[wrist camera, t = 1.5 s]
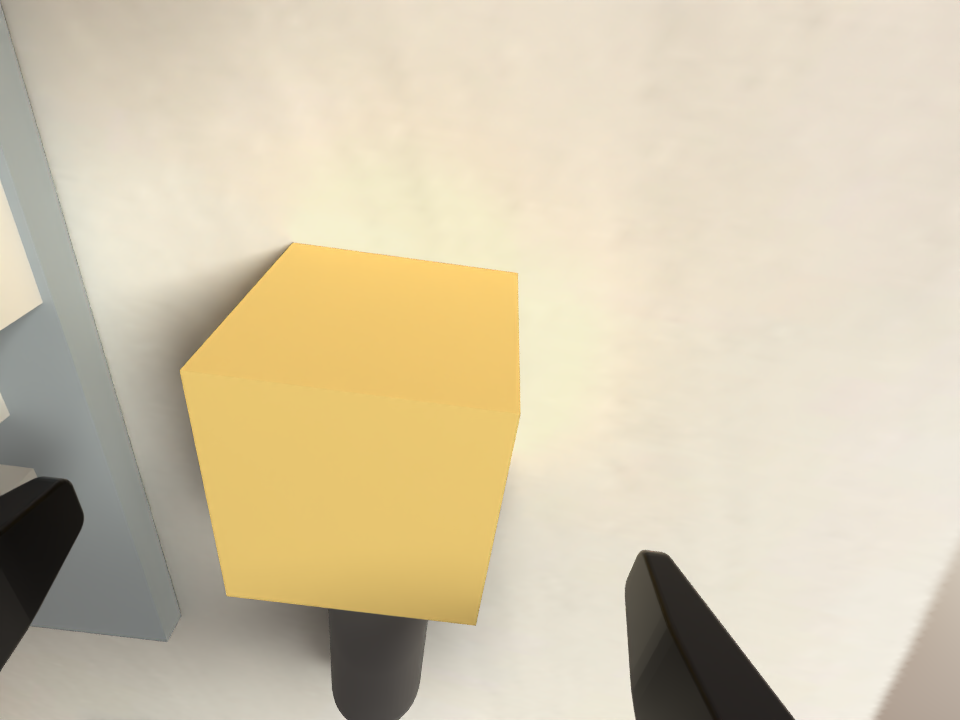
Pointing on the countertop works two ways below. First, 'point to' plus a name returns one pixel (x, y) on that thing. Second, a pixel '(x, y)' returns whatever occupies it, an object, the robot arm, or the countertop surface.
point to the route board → (67, 399)
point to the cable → (361, 450)
